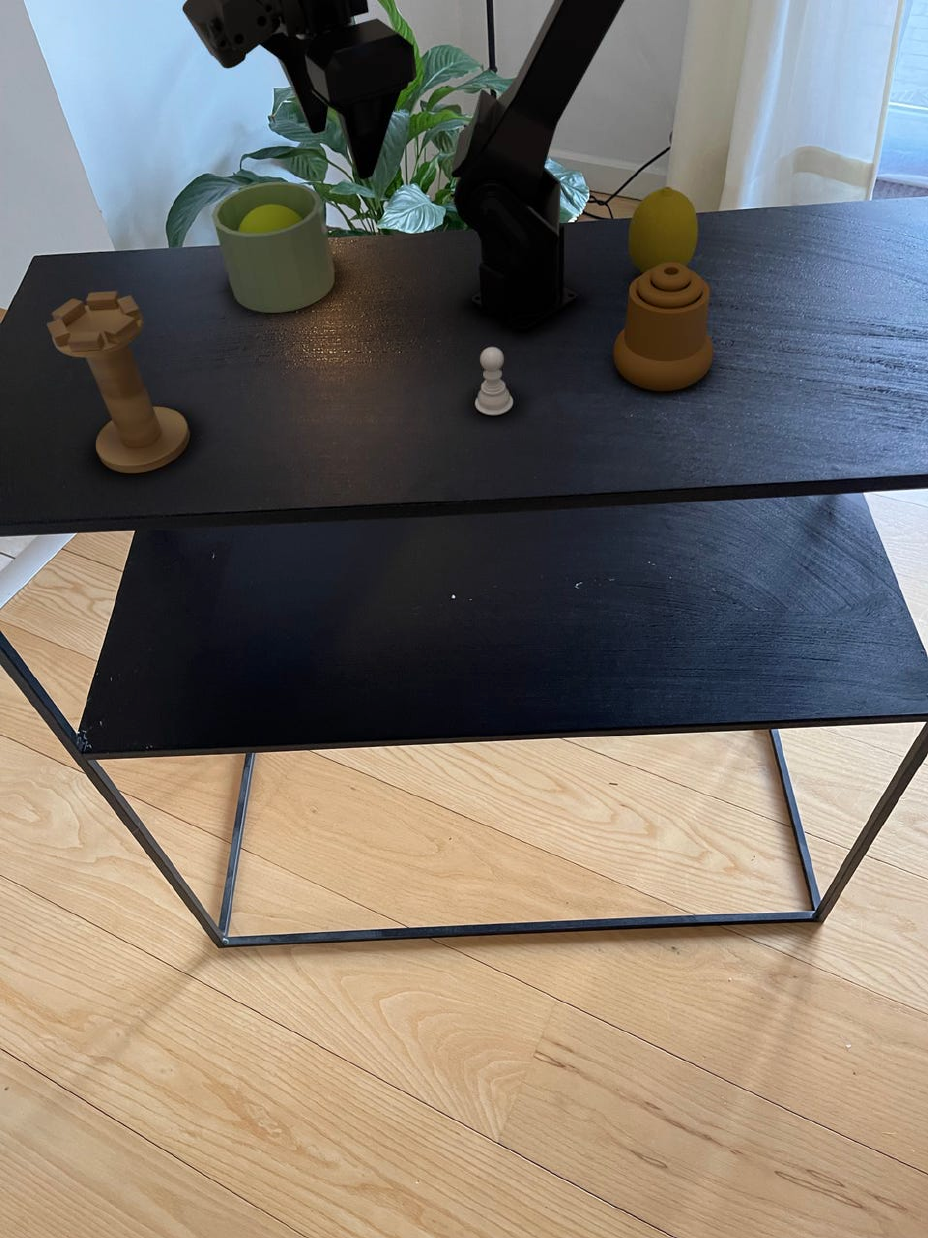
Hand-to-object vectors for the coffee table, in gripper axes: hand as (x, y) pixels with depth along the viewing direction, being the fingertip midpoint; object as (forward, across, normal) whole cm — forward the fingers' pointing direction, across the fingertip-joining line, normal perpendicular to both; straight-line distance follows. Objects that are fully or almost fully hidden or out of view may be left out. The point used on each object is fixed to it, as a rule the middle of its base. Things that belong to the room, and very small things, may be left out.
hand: (341, 153), depth 73 cm
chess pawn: (+13, +18, +3) cm, 22 cm away
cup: (+13, -7, -5) cm, 15 cm away
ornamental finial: (+13, +20, +16) cm, 29 cm away
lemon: (+13, +10, +22) cm, 28 cm away
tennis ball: (+9, -7, -5) cm, 13 cm away
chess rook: (+13, +8, -22) cm, 26 cm away
